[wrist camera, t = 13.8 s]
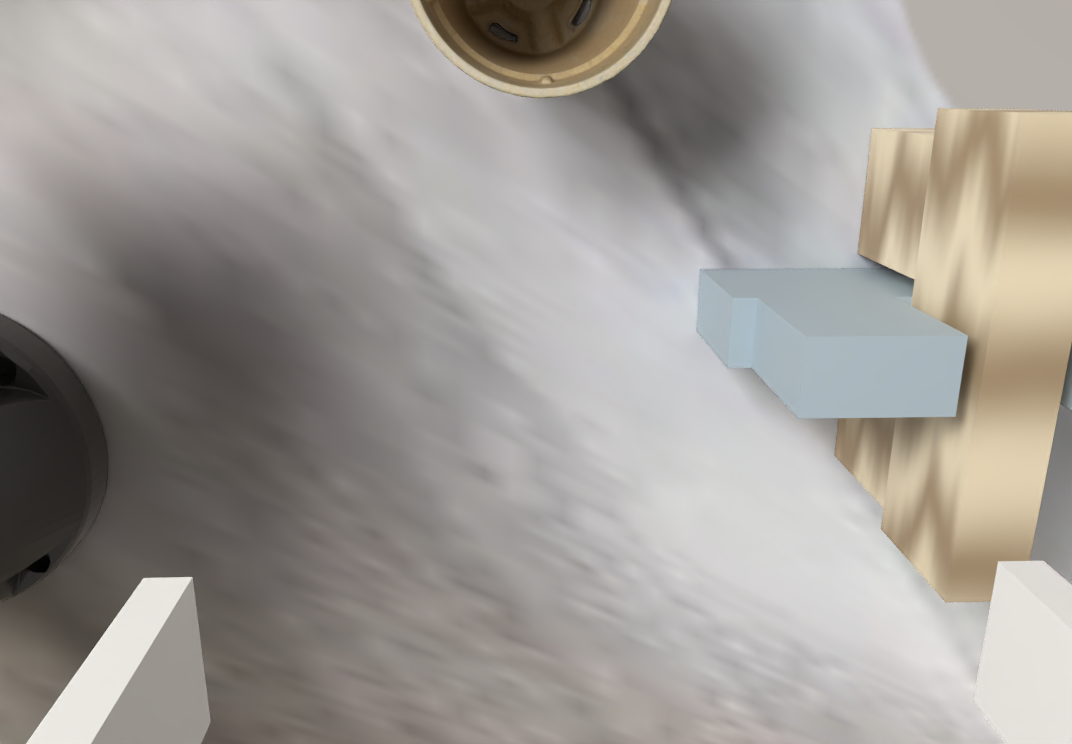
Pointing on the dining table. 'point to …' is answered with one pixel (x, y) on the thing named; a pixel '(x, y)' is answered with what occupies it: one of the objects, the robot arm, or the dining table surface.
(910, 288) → the slate board
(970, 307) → the maple board
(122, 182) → the dining table surface
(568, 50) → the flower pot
